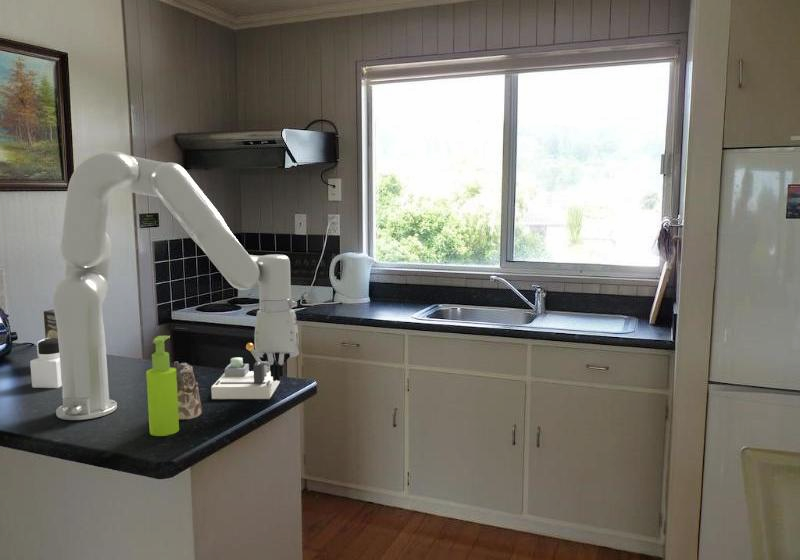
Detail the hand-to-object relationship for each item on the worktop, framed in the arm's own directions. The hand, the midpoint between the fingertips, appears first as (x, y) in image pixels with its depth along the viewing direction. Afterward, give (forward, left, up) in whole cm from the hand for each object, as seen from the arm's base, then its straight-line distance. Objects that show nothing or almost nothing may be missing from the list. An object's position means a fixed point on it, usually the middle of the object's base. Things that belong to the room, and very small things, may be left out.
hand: (277, 379), depth 165 cm
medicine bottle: (+10, +60, -4) cm, 61 cm away
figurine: (-14, +18, -4) cm, 24 cm away
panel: (+4, +8, -4) cm, 10 cm away
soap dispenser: (-24, +19, -4) cm, 31 cm away
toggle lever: (+9, +5, 0) cm, 10 cm away
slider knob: (0, +4, 0) cm, 5 cm away
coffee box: (+29, +66, -4) cm, 73 cm away
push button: (+8, +12, +1) cm, 15 cm away
